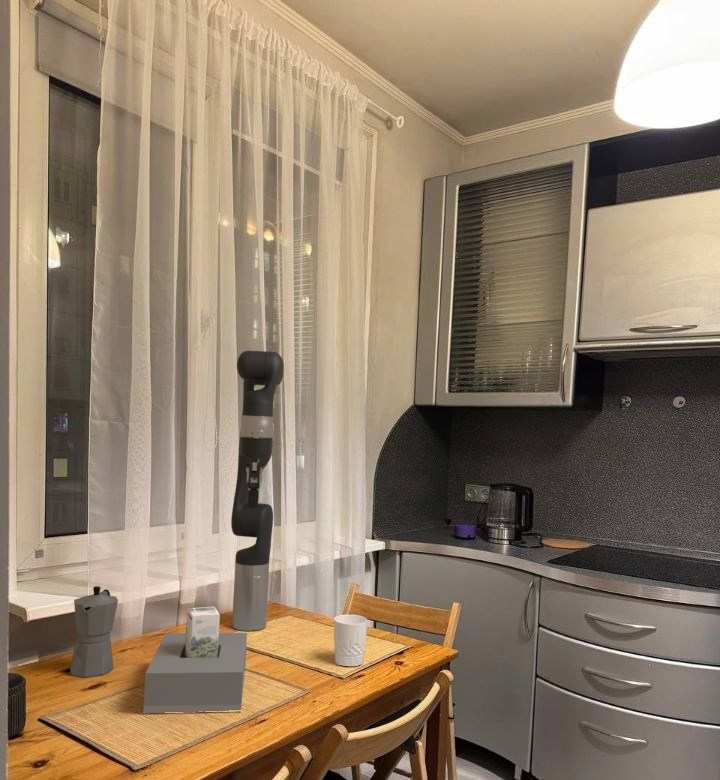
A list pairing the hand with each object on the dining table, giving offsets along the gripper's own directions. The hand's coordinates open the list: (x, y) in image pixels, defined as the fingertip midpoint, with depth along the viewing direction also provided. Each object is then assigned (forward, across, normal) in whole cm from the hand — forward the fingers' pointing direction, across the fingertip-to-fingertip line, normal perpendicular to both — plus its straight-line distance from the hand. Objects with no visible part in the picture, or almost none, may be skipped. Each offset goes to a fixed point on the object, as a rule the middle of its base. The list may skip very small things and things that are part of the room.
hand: (253, 505), depth 152 cm
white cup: (+36, 0, +24) cm, 44 cm away
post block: (+36, +14, -9) cm, 40 cm away
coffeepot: (+36, +2, -33) cm, 49 cm away
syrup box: (+35, +14, -9) cm, 39 cm away
